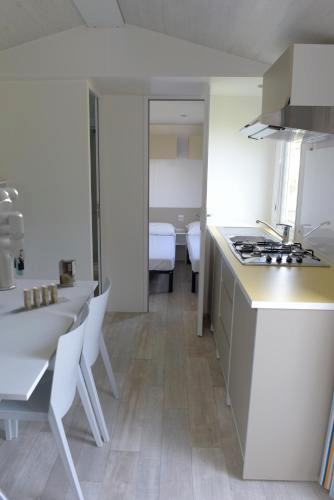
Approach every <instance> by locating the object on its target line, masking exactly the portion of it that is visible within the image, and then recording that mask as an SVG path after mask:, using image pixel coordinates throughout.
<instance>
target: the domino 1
mask: <svg viewBox="0 0 334 500" xmlns="http://www.w3.org/2000/svg"><path fill="white" fill-rule="evenodd" d="M31 294H32V293H31V290H30V289H28V288H23V302H24V303H23V304H24V305H23V306H24V307H25V308H27V309H28V310H29V309H32V308H31V304H32V296H31Z"/></svg>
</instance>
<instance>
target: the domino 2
mask: <svg viewBox="0 0 334 500" xmlns="http://www.w3.org/2000/svg"><path fill="white" fill-rule="evenodd" d="M32 300H33V301H32V304H34V306H36V307H41V306H40V302H41V293H40V288H38V287H36V286H34V287H32Z"/></svg>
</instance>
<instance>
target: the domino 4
mask: <svg viewBox="0 0 334 500" xmlns="http://www.w3.org/2000/svg"><path fill="white" fill-rule="evenodd" d="M49 292H50V293H49V296H50V300H51V301H52V302H53V303H58V298H59V297H58V285H57V284H55V283H52V282H51V283H50V284H49Z"/></svg>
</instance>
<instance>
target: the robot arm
mask: <svg viewBox="0 0 334 500" xmlns="http://www.w3.org/2000/svg"><path fill="white" fill-rule="evenodd" d="M18 200H19V193H18V190H17V189H16V188H14V187H0V291H7V290H8V291H9V290H13V289H15V288H17V287H18V284H17V282H15V274H14V273H15V272H14V269H16V260H15V258H18V270H23V271H24V270H25V257H26V250H25V249H26V247H25V241H24V240H25V225H24V215H23V214H22V213H21V212H20V211H10V210H11V209H12V207H13V205H14V204H15V203H16V202H18ZM9 253H10V255H9ZM19 256H20V257H19ZM12 257H13V258H12ZM20 258H21V259H20ZM19 259H20V260H19Z"/></svg>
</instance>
